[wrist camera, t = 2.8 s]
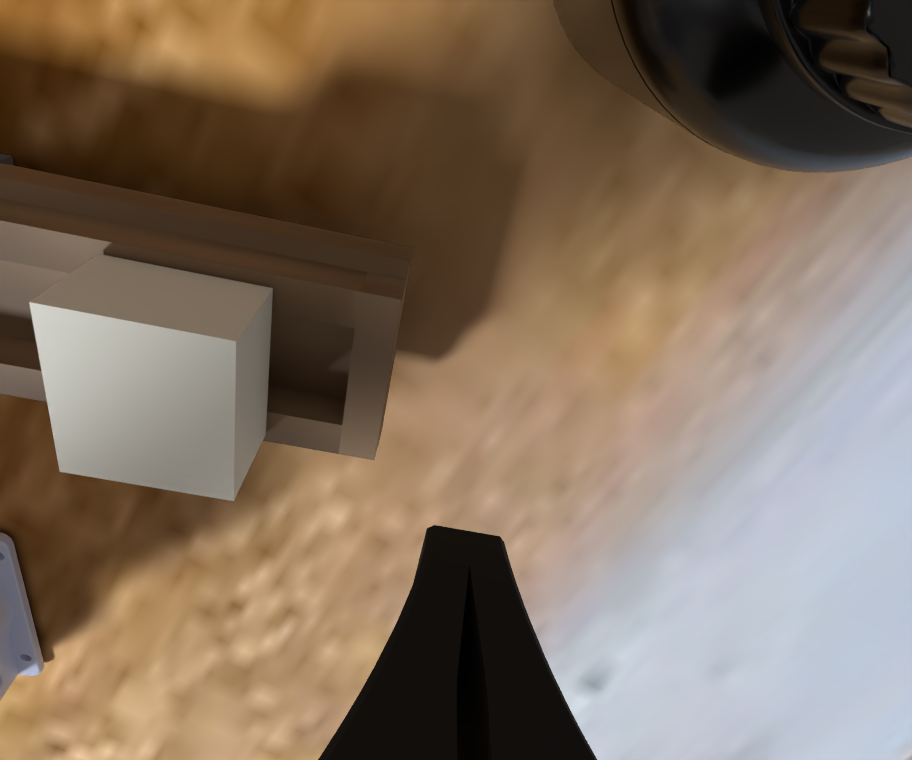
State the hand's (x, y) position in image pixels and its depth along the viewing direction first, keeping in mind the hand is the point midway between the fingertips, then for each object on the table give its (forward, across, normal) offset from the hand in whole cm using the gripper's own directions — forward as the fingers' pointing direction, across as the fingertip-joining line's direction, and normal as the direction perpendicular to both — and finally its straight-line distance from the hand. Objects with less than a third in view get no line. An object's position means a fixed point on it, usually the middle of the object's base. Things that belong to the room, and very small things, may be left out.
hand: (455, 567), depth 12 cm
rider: (+7, +7, 0) cm, 10 cm away
